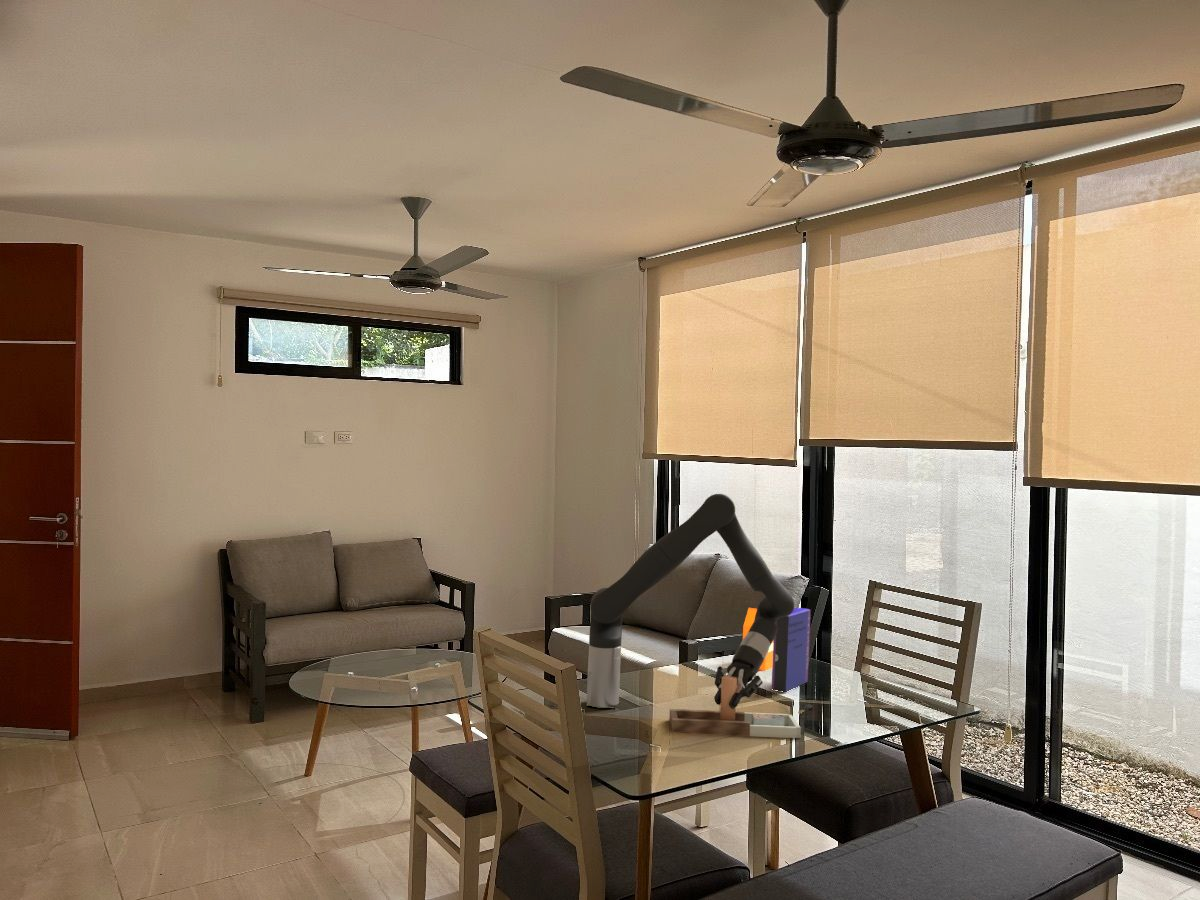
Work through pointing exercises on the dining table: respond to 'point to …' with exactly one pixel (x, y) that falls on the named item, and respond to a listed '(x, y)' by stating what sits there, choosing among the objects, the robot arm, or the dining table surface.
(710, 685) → the dining table surface
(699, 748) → the dining table surface
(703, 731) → the slot board
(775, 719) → the gray cube
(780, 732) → the tray
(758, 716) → the light grey cube
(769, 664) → the orange juice
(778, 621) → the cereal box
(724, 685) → the orange rounded cylinder
